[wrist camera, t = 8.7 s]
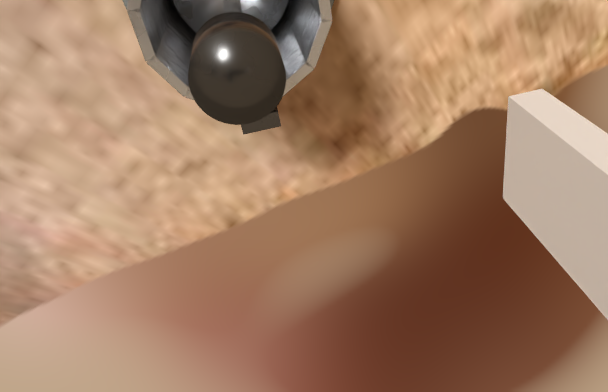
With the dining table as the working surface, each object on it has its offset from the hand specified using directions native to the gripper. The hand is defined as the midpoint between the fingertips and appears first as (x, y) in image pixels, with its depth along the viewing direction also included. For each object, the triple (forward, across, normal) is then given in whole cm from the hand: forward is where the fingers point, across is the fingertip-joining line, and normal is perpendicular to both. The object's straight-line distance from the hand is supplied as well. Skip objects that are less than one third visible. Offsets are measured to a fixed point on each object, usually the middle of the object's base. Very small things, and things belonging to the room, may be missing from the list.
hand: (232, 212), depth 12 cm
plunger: (+28, +1, 0) cm, 28 cm away
